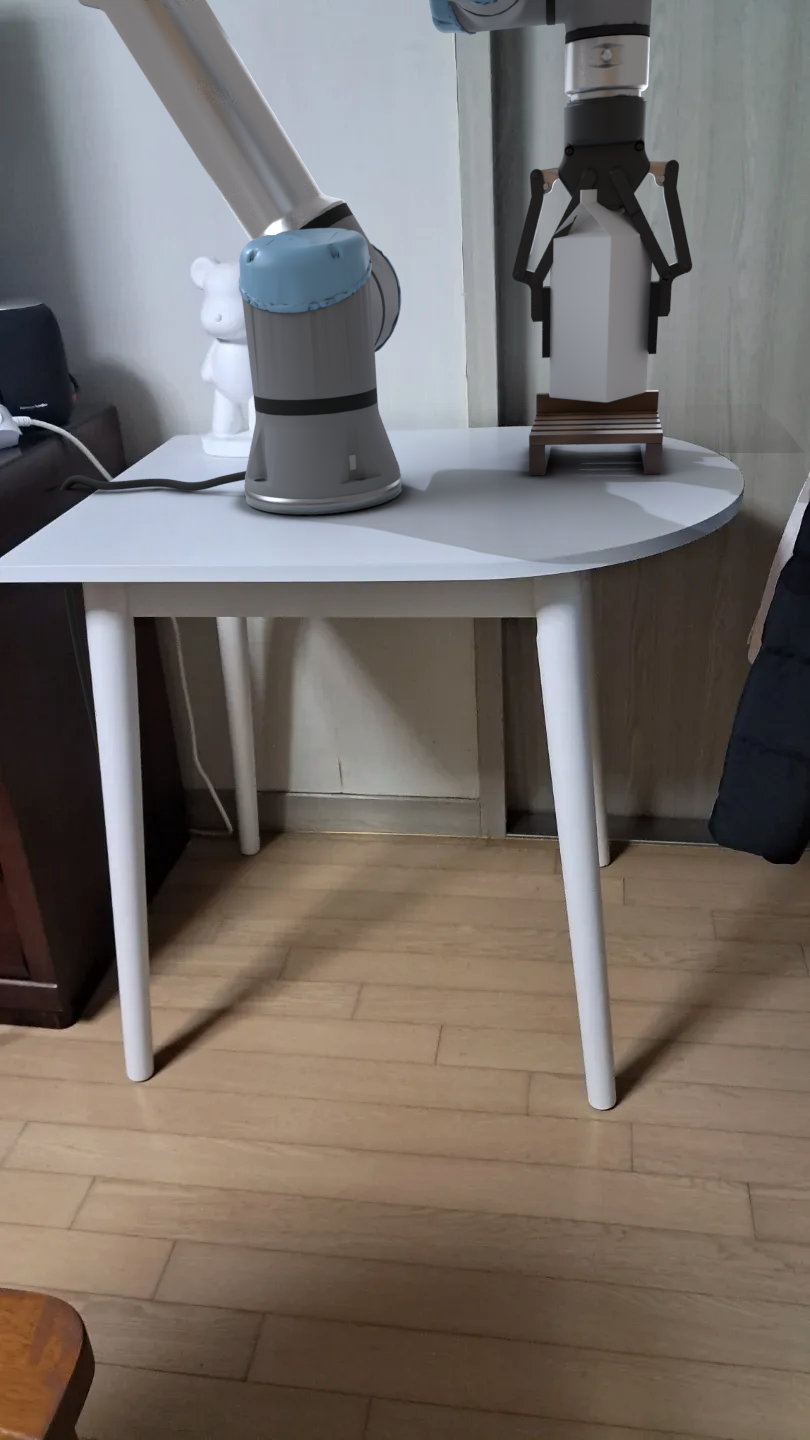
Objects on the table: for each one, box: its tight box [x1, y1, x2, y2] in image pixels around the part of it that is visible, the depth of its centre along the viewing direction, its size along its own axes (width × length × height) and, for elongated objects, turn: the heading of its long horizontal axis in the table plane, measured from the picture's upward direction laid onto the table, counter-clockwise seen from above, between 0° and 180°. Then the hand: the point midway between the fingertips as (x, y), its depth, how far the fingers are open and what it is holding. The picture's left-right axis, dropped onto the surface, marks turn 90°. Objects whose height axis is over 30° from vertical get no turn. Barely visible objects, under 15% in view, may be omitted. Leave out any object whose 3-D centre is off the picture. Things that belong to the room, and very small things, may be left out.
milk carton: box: [548, 189, 655, 402], centre depth 102 cm, size 7×7×19 cm
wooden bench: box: [528, 389, 664, 476], centre depth 108 cm, size 13×13×6 cm
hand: (598, 354), depth 104 cm, fingers closed on milk carton, 10 cm apart
